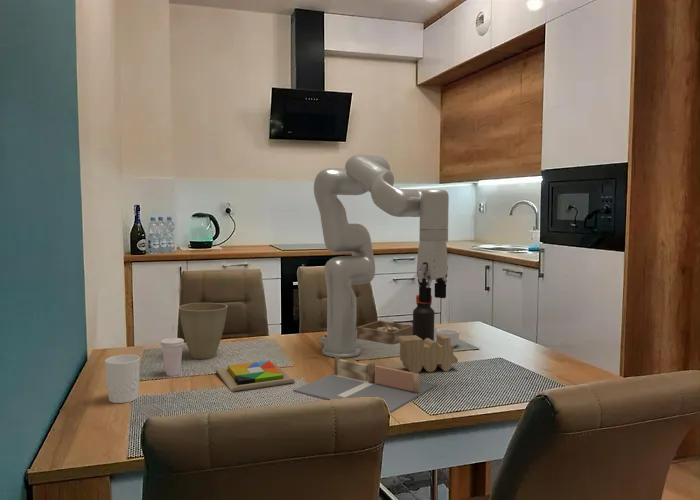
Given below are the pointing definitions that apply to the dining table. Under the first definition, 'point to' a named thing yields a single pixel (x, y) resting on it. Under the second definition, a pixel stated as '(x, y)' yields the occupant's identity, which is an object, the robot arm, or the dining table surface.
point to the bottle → (423, 320)
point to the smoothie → (172, 354)
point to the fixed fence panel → (354, 370)
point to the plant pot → (203, 327)
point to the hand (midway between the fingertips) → (432, 300)
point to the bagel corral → (383, 332)
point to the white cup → (122, 378)
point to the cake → (387, 328)
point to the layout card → (361, 390)
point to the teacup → (450, 335)
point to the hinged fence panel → (397, 378)
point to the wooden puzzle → (253, 375)
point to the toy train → (426, 353)
